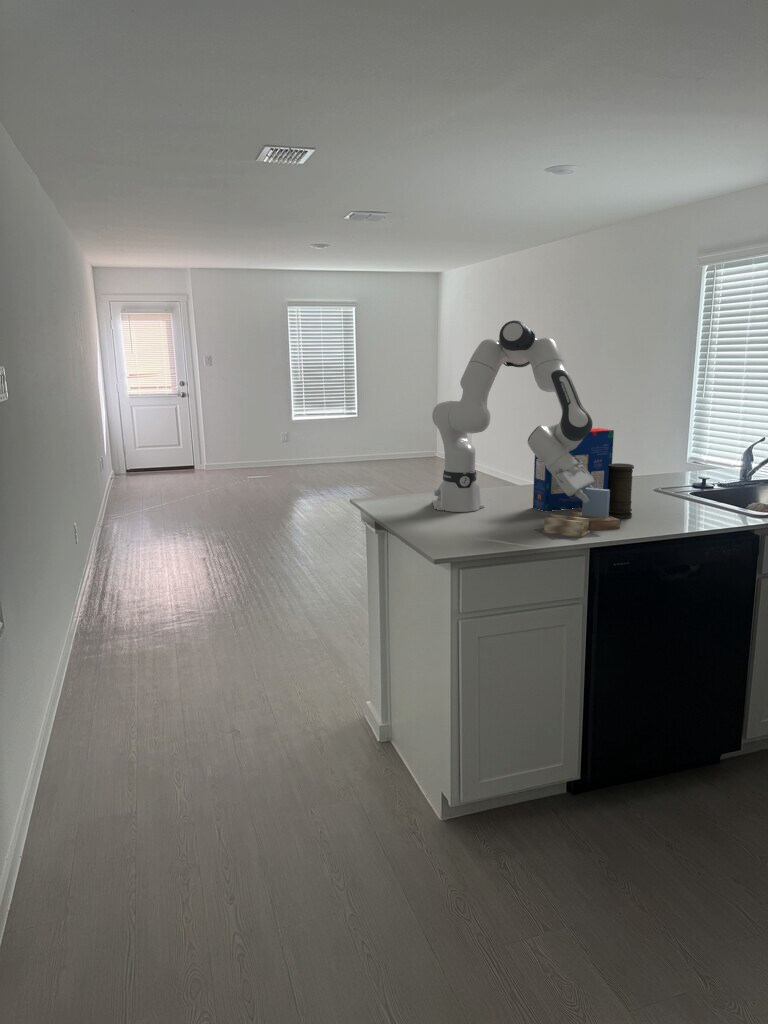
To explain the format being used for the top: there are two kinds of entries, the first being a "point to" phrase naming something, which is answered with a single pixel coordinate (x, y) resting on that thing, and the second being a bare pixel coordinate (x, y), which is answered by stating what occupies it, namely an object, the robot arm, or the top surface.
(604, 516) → the light blue square slab
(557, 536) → the mat
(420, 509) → the top surface
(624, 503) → the container
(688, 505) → the top surface
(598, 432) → the blue cardboard box
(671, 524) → the top surface
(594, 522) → the brown flat block
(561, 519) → the mottled beige block
